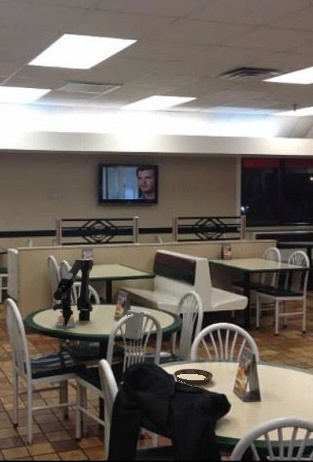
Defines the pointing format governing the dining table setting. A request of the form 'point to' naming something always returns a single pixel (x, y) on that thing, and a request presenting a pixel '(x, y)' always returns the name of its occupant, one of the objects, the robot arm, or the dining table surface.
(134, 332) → the skincare box
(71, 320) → the bowl
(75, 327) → the mat
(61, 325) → the lid
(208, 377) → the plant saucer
